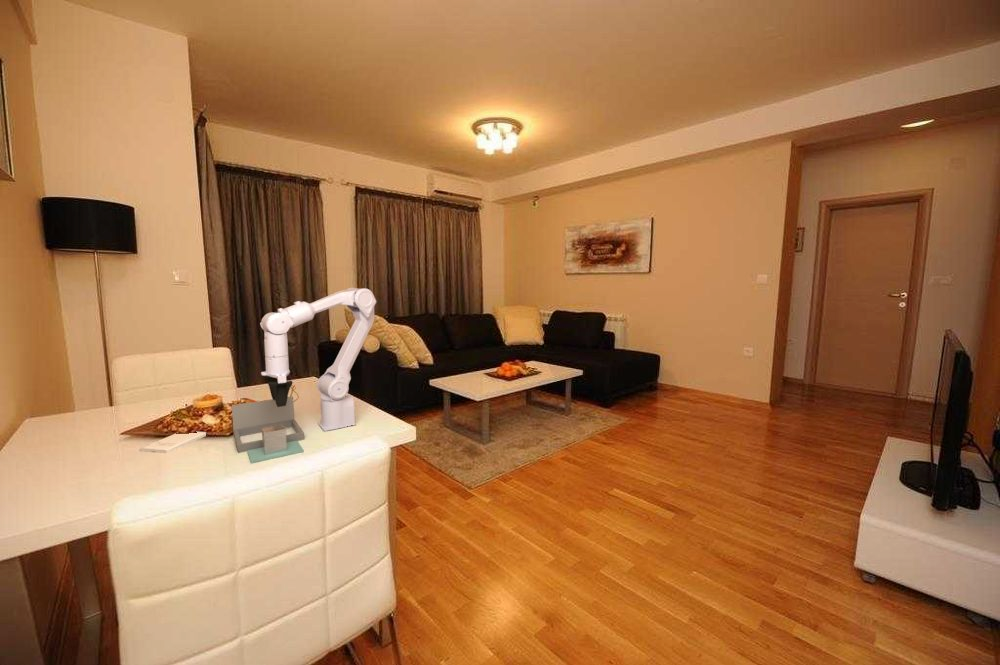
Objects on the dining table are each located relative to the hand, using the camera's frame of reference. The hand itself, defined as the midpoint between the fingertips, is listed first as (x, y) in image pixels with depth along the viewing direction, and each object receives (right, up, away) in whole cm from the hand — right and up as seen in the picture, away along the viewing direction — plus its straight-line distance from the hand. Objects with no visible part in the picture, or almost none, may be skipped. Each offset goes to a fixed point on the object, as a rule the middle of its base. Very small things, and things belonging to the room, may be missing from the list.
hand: (279, 402), depth 117 cm
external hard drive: (-27, -11, -3) cm, 30 cm away
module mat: (+4, -12, -8) cm, 15 cm away
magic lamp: (-12, -8, +18) cm, 24 cm away
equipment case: (-4, -10, +1) cm, 11 cm away
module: (+3, -11, -8) cm, 14 cm away
